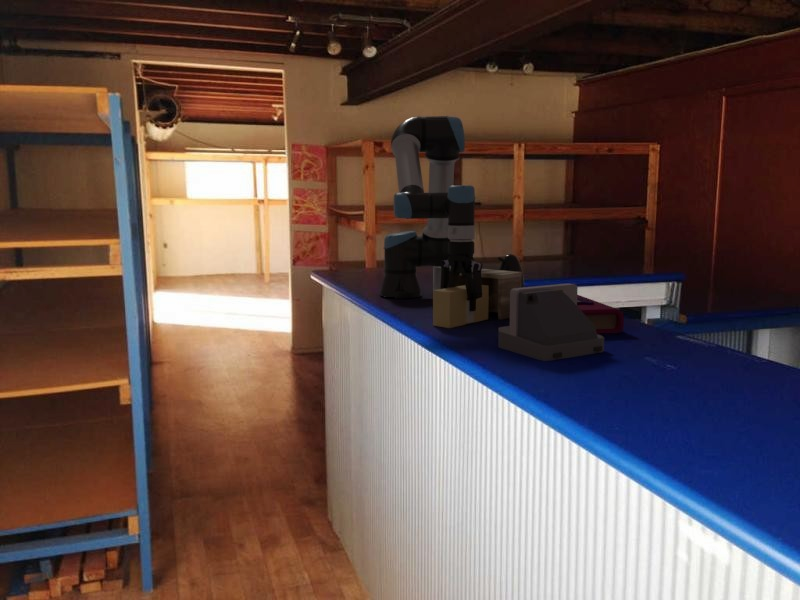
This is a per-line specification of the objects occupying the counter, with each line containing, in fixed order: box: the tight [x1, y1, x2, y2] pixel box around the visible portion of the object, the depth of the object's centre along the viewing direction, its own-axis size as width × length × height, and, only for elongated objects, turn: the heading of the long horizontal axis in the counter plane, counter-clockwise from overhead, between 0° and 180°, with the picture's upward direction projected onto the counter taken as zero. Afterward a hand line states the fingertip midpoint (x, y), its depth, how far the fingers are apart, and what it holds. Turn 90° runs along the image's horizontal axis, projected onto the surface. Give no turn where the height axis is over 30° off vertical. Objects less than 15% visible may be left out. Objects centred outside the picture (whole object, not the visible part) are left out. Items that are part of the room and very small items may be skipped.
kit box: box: [432, 285, 489, 329], centre depth 198 cm, size 6×18×10 cm, turn 137°
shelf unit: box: [456, 267, 522, 320], centre depth 213 cm, size 22×10×13 cm, turn 46°
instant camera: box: [497, 282, 605, 362], centre depth 162 cm, size 21×21×15 cm
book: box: [577, 294, 625, 335], centre depth 193 cm, size 21×28×8 cm
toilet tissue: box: [432, 266, 451, 291], centre depth 259 cm, size 11×12×10 cm
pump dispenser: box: [497, 253, 525, 288], centre depth 249 cm, size 10×10×15 cm
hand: (460, 320), depth 198 cm, fingers closed on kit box, 6 cm apart
